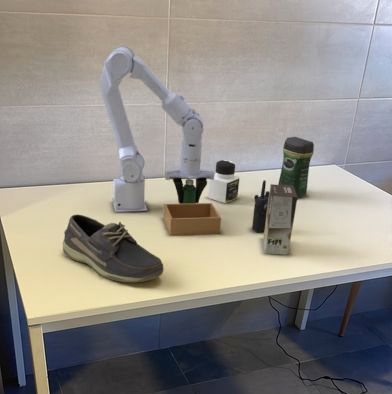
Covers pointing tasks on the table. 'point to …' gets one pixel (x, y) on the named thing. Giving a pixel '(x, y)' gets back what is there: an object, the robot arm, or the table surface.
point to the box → (192, 219)
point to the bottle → (189, 192)
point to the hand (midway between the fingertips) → (188, 202)
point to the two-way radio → (260, 210)
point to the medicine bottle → (224, 182)
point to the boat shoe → (109, 250)
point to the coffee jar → (296, 164)
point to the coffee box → (279, 219)
